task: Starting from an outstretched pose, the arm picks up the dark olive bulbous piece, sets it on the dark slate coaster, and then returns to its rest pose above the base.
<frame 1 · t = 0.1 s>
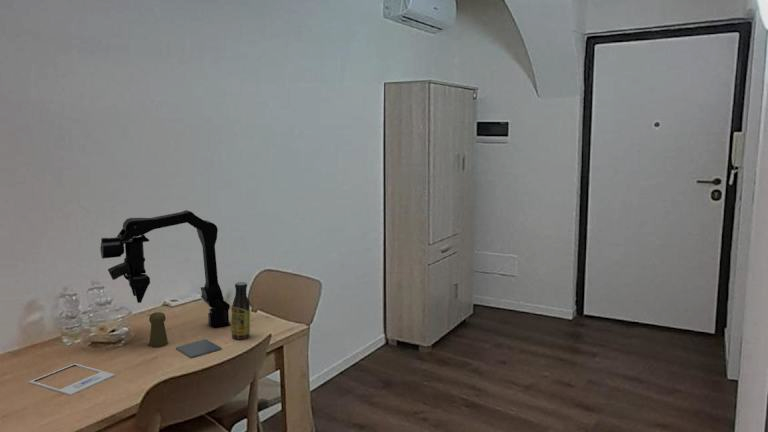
hand: (137, 299, 201), 15 cm above the table, tool pointing down, fingers open, 9 cm apart
photo frame: (73, 381, 171), on the table
slate coaster: (198, 349, 195), on the table
dark olive bulbous piece: (158, 344, 199), on the table
sauce bottle: (241, 337, 207), on the table
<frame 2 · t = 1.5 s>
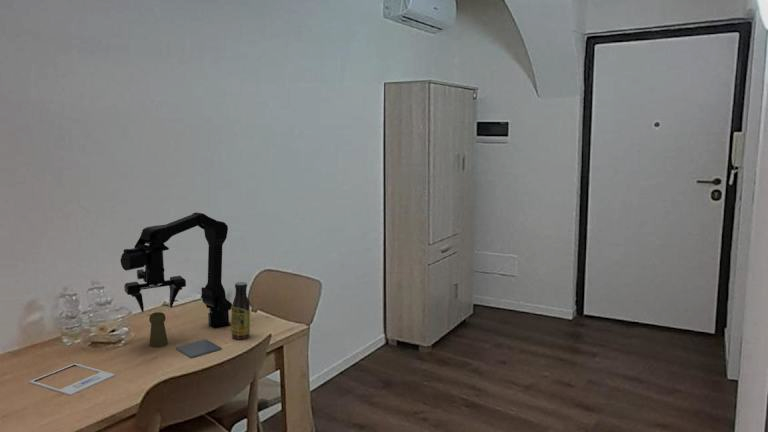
hand: (156, 309, 197), 12 cm above the table, tool pointing down, fingers open, 9 cm apart
nothing on the table moved.
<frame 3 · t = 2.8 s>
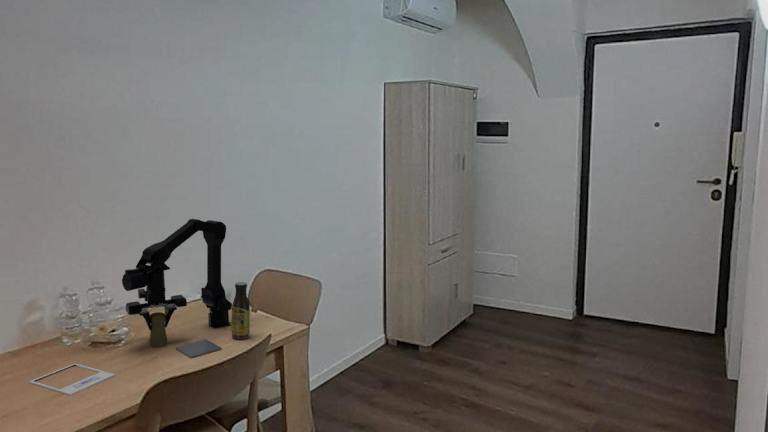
hand: (157, 328, 198), 6 cm above the table, tool pointing down, fingers closed on dark olive bulbous piece, 5 cm apart
dark olive bulbous piece: (158, 344, 199), on the table, touching gripper
everything else where it was.
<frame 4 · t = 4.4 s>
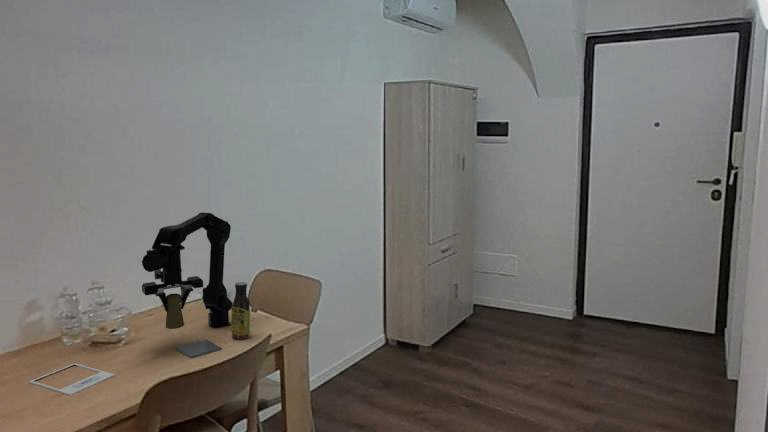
hand: (174, 310, 196), 13 cm above the table, tool pointing down, fingers closed on dark olive bulbous piece, 5 cm apart
dark olive bulbous piece: (174, 326, 196), point 7 cm above the table, touching gripper
everything else where it was.
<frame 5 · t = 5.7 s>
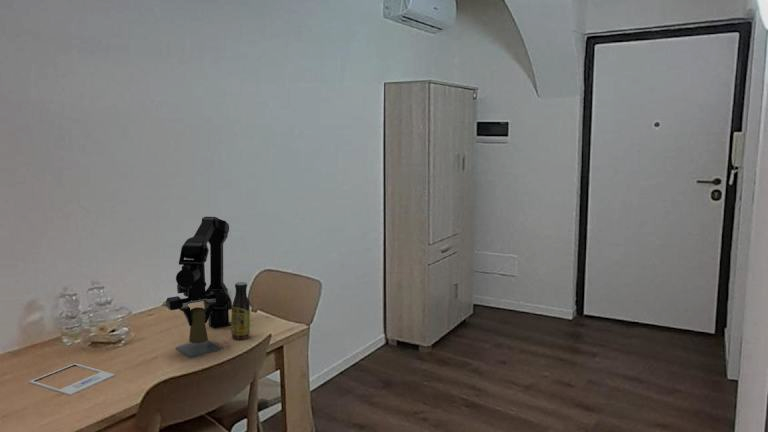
hand: (197, 324, 194), 9 cm above the table, tool pointing down, fingers closed on dark olive bulbous piece, 5 cm apart
dark olive bulbous piece: (198, 340, 195), point 3 cm above the table, touching gripper
everything else where it was.
when the fingers open (7 cm above the table, at t = 6.4 s): dark olive bulbous piece stays where it is, resting on slate coaster.
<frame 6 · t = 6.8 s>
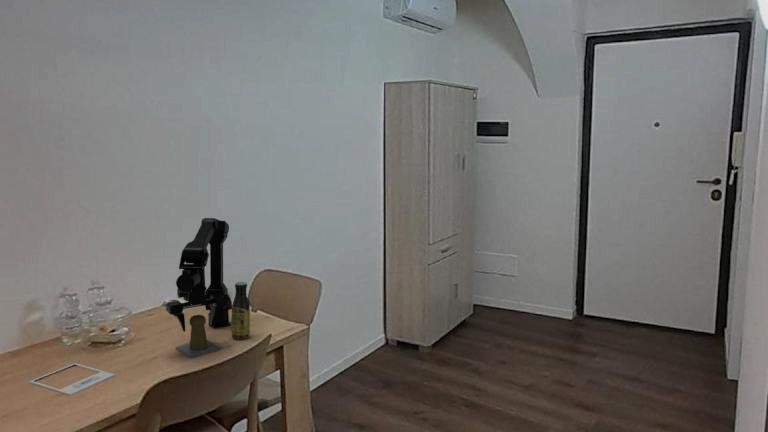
hand: (198, 328, 194), 7 cm above the table, tool pointing down, fingers open, 9 cm apart
dark olive bulbous piece: (198, 347, 195), resting on slate coaster
everything else where it was.
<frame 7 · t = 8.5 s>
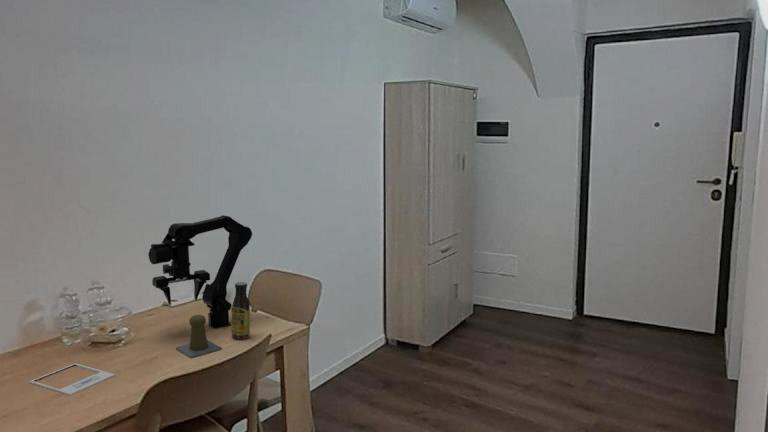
hand: (182, 302, 207), 12 cm above the table, tool pointing down, fingers open, 9 cm apart
nothing on the table moved.
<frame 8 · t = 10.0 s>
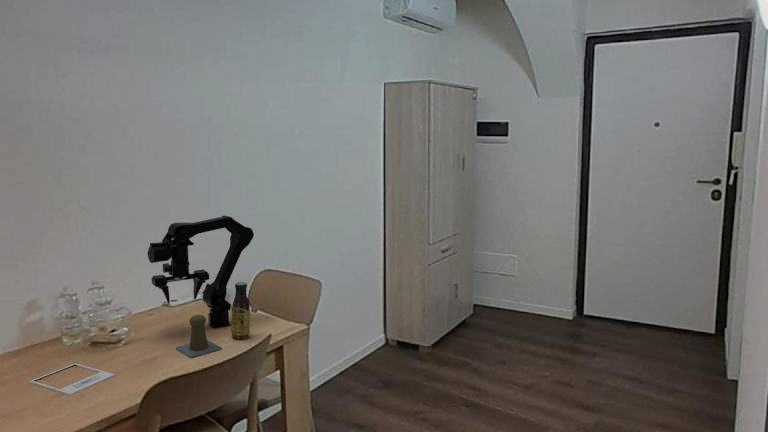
hand: (181, 301, 208), 12 cm above the table, tool pointing down, fingers open, 9 cm apart
nothing on the table moved.
at the end: dark olive bulbous piece 0.1 cm from the slate coaster (horizontally); dark olive bulbous piece tilted 0°; the gripper is holding nothing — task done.
